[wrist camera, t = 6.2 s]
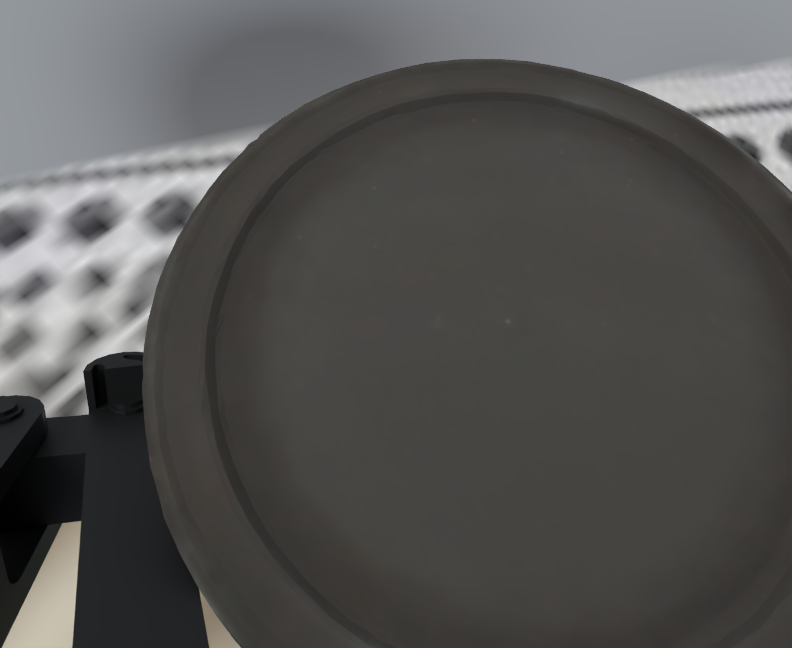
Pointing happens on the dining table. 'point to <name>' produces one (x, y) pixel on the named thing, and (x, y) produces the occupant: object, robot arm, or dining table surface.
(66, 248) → the dining table surface
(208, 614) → the plain beige board
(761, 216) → the coffee can
